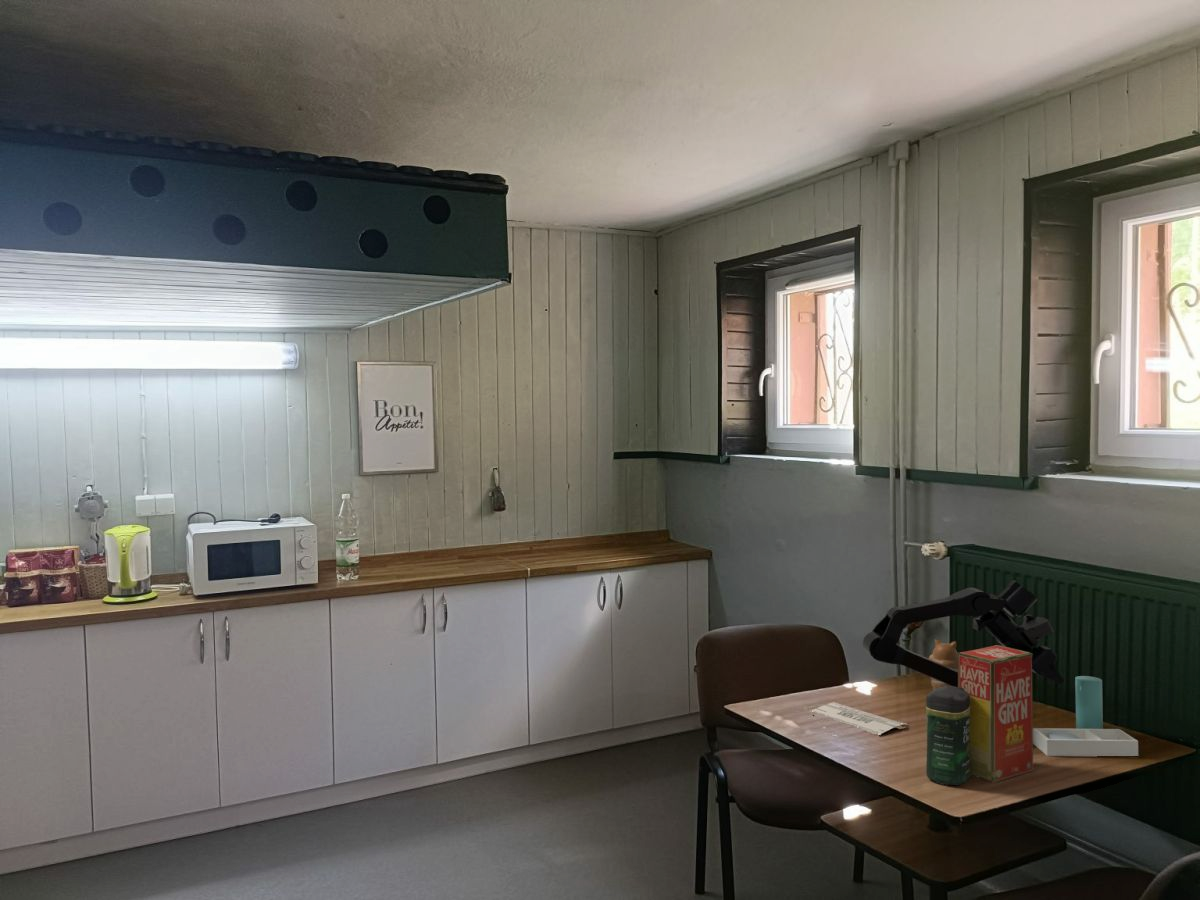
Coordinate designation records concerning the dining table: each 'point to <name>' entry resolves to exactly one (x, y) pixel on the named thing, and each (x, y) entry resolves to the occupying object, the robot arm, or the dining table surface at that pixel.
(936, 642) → the cat ice cream
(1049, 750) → the rack
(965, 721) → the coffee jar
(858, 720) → the newspaper
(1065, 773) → the dining table surface
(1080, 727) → the teal rounded block
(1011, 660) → the food packaging
